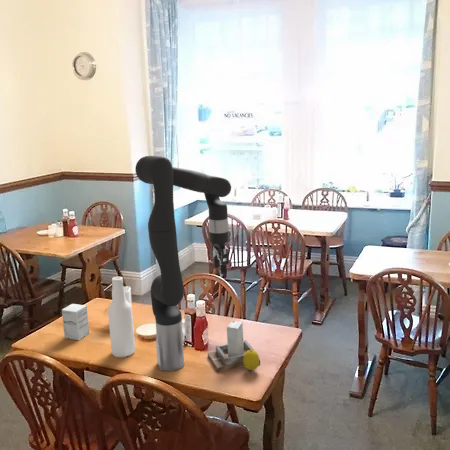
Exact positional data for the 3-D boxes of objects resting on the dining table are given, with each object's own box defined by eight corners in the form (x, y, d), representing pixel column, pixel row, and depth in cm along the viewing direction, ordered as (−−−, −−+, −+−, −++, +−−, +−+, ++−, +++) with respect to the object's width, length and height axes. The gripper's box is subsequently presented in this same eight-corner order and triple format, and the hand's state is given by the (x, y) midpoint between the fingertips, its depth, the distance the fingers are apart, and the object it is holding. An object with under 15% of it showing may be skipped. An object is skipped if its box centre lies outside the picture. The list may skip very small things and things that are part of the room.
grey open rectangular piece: (217, 371, 181) (217, 361, 180) (207, 356, 192) (207, 346, 191) (260, 363, 186) (260, 353, 185) (248, 348, 197) (248, 339, 196)
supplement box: (64, 338, 211) (60, 309, 208) (75, 331, 217) (72, 302, 214) (78, 341, 208) (75, 311, 205) (90, 333, 215) (87, 305, 212)
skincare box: (239, 360, 185) (238, 328, 183) (227, 358, 187) (226, 327, 184) (244, 352, 191) (243, 321, 188) (232, 350, 192) (231, 320, 190)
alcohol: (107, 356, 195) (100, 280, 188) (120, 345, 203) (113, 273, 196) (127, 359, 192) (120, 283, 185) (139, 349, 199) (133, 275, 192)
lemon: (242, 367, 183) (242, 346, 182) (258, 366, 184) (257, 345, 182) (244, 375, 178) (244, 353, 176) (260, 374, 178) (260, 352, 177)
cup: (130, 324, 222) (128, 292, 218) (113, 325, 222) (110, 292, 218) (133, 318, 229) (131, 286, 225) (117, 318, 229) (114, 286, 225)
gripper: (234, 233, 191) (235, 274, 195) (222, 224, 204) (223, 264, 208) (214, 235, 189) (216, 277, 193) (204, 226, 202) (205, 266, 206)
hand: (220, 270), depth 200 cm, fingers open, 8 cm apart
